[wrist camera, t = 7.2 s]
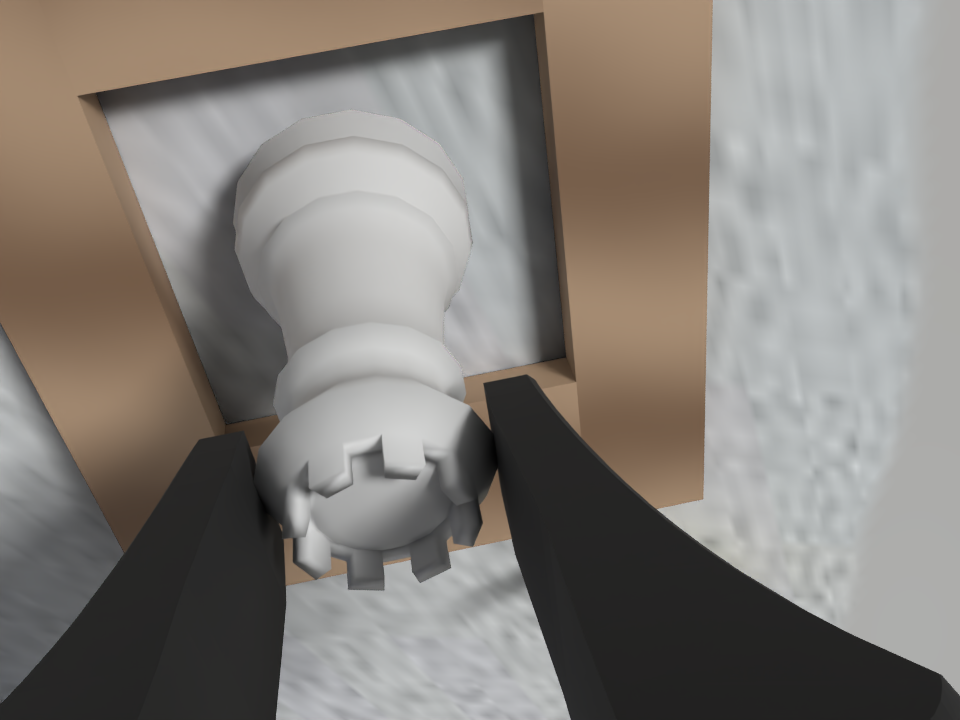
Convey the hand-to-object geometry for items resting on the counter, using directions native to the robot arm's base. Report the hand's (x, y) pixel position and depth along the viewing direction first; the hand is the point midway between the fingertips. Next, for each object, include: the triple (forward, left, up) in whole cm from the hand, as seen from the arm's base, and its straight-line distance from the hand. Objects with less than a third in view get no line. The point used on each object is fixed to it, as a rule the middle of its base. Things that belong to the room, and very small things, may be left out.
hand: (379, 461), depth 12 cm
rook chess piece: (+1, 0, -7) cm, 7 cm away
